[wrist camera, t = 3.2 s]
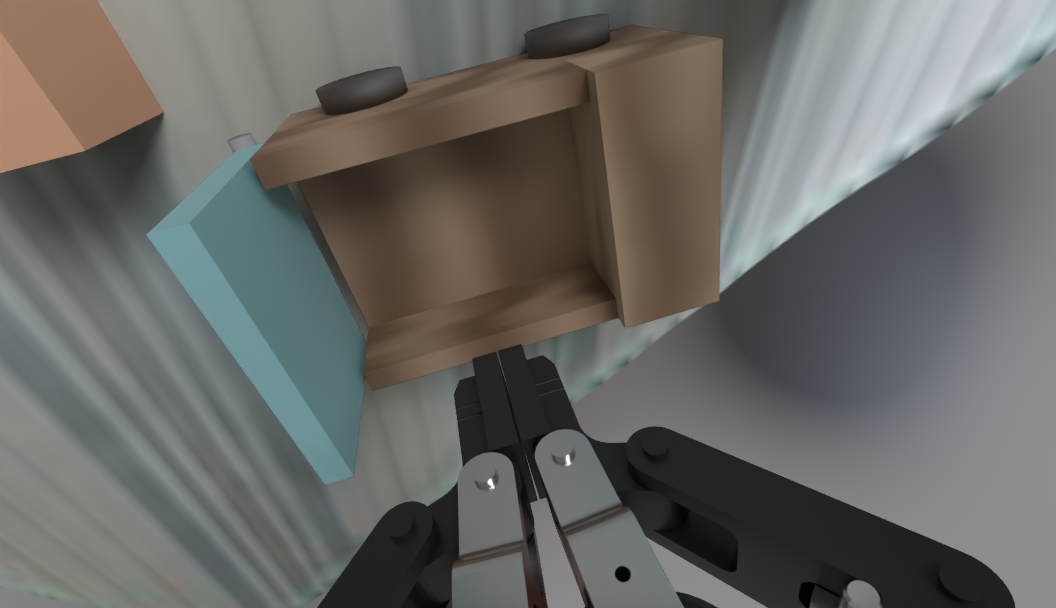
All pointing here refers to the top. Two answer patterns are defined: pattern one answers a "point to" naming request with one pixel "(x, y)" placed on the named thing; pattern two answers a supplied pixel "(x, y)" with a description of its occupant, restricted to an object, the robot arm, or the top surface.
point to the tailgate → (272, 305)
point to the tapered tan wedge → (64, 81)
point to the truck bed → (516, 191)
